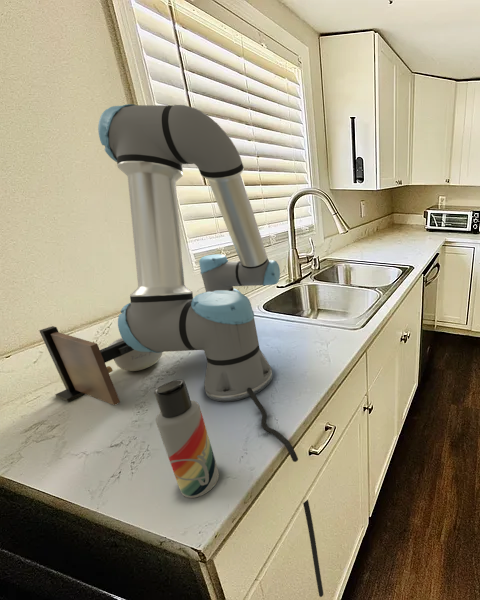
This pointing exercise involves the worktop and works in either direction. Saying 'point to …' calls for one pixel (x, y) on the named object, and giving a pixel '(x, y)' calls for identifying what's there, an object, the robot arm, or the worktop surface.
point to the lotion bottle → (185, 439)
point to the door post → (59, 366)
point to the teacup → (136, 359)
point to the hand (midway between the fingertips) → (99, 357)
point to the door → (86, 367)
